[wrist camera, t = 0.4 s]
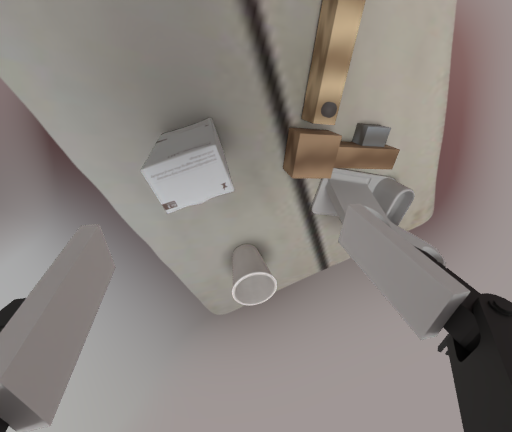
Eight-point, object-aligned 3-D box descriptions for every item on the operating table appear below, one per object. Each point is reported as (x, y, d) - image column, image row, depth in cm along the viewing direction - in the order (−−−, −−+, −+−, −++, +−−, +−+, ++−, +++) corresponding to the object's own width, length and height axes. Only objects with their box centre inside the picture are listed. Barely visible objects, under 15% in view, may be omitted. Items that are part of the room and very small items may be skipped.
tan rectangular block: (325, -16, 29) (348, -32, 25) (349, -10, 30) (376, -25, 26) (301, 118, 37) (315, 124, 33) (320, 120, 38) (337, 126, 34)
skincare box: (211, 116, 35) (219, 138, 22) (224, 154, 38) (238, 191, 25) (158, 135, 34) (136, 167, 22) (176, 171, 38) (166, 217, 25)
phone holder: (396, 177, 48) (487, 223, 33) (374, 218, 53) (445, 274, 38) (325, 165, 43) (395, 213, 28) (308, 212, 48) (359, 274, 33)
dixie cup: (227, 239, 47) (234, 274, 38) (266, 238, 49) (281, 271, 40) (224, 270, 51) (230, 308, 42) (261, 268, 53) (273, 303, 45)
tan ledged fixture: (290, 118, 37) (302, 123, 33) (388, 125, 42) (408, 130, 38) (282, 168, 41) (292, 178, 37) (372, 170, 46) (389, 179, 42)
